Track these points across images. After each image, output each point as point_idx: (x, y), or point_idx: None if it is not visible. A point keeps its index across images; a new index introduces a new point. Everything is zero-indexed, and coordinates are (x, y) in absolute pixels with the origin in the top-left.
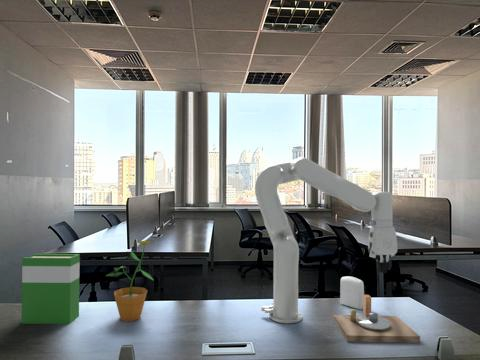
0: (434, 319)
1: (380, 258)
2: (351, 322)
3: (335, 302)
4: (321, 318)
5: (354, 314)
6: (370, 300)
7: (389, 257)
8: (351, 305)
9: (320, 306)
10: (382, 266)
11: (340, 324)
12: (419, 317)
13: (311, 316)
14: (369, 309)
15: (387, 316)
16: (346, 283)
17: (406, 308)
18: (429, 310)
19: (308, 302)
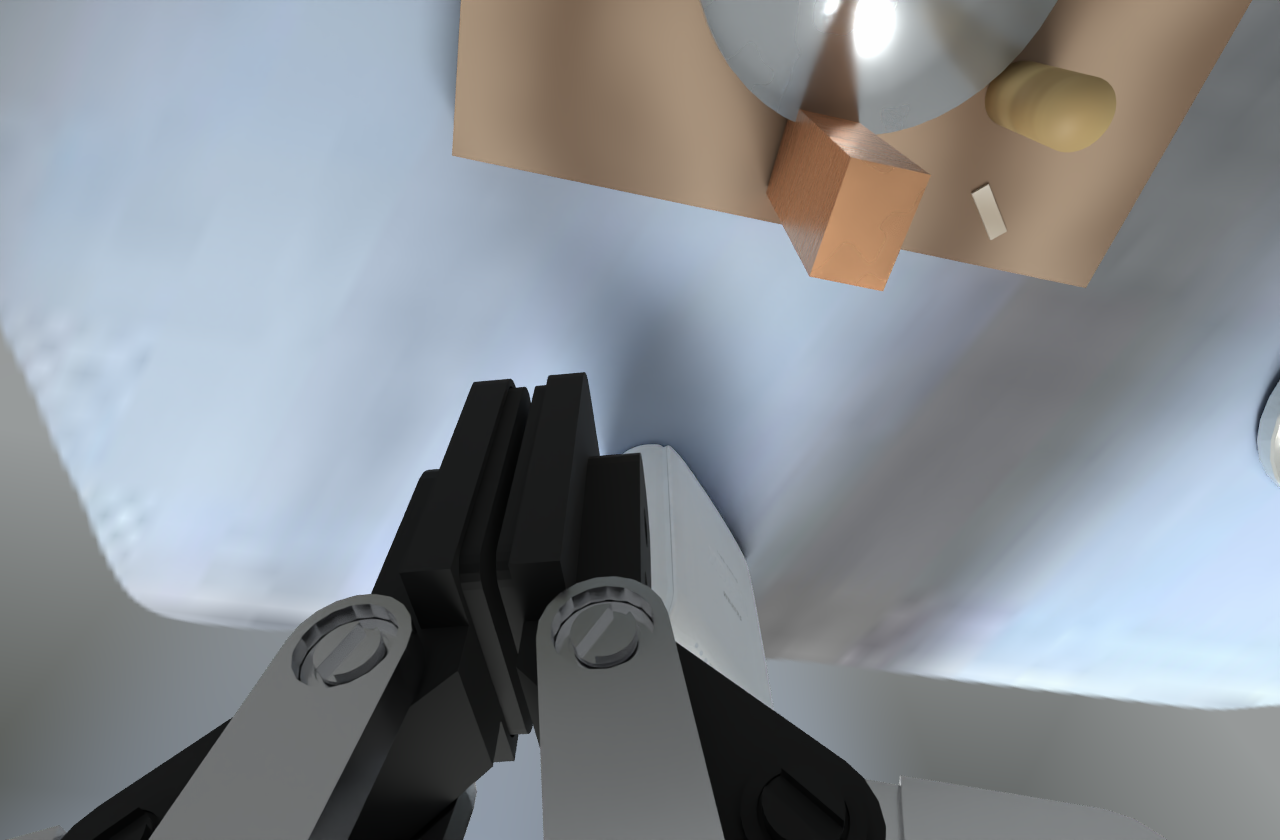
0: (31, 113)
1: (684, 721)
2: (1066, 55)
3: (766, 593)
4: (1128, 324)
5: (1069, 71)
6: (851, 147)
7: (163, 790)
8: (708, 500)
9: (939, 544)
10: (577, 504)
11: (1231, 19)
12: (177, 191)
13: (1175, 378)
14: (834, 126)
15: (561, 151)
16: (752, 682)
17: (221, 406)
18: (11, 333)
19: (973, 619)
